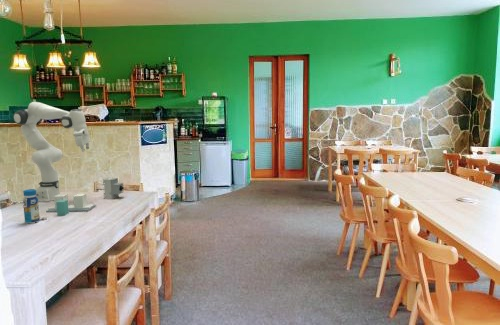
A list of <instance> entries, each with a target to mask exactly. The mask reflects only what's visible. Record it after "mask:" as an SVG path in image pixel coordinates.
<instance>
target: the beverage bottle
mask: <svg viewBox="0 0 500 325" xmlns="http://www.w3.org/2000/svg"><path fill="white" fill-rule="evenodd" d="M35 195H36V189H34V188H33V189H31V188H29V189H25V190H23V196H24V198H23V200H22V203H23V205H22V208H23V215H24V224H27V223H32V224H36V223H35V222H37V223H40V222H41V218H40V204H39V202H38V198H37V197H36V196H35Z"/></svg>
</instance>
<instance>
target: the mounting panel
mask: <svg viewBox="0 0 500 325" xmlns="http://www.w3.org/2000/svg"><path fill="white" fill-rule="evenodd" d="M68 197H69V196H68V193H65V194H64V193H60V194H59V195H56V196H54V200H53V201H54V205H52V206H50V207H47V210H46V211H45V212H46V213H57V206H56V202H57V201H59V200H68V201H69V198H68ZM96 206H97V205H96V204H88V198H87V193H77V194H75V195H73V204H70V205H69V204H68V210H69V213H76V212H79V213H82V212H83V213H85V212H89V211H91V210H93V209H94V208H96Z"/></svg>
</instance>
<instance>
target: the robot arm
mask: <svg viewBox="0 0 500 325" xmlns="http://www.w3.org/2000/svg"><path fill="white" fill-rule="evenodd" d="M57 119H60V123H61V125H62V127H64V128H65V129H73V133H72V136H73V137H74V141H75V144H76V146H77V147H80V149H81V152H85V151H86V150H89V149H90V144H89V143H90V142H91V141H92V140H91V137H90V133H89V129H88V126H87V121H86V120H87V119H86V116H85V113H84V111H83V110H82V109H79V108H74V109H71V110H70V111H69V110H64V109H61V108H58V107H54V106H51V105H48V104H45V103H43V102H39V101H31V102H30V103H29V104H28V106H27V109H23V108H22V109H19V110H17V111H16V112H14V113H13V121H14V122H15V124H17V125H19V126H20V125H21V126H20V131H21V134H22V135H23V137H24V139H25V140H26V142H27V143H28V144H29V146H30V147H31V148H32V149H33V150H36V151H33V153H32V154H31V160H32V162H33V163H34V164H35V165H37V167H38V168H39V171H40V176H41V181H40V182H39V183H38V185H39V187H38V188H36V189H35V190H36V195H35V196H36V197H37V198H38V203H39V202H41V203H43V202H45V203H46V202H51V201H54V196H56V195H59V194H61V192H60V182H59V180H58V170H57V169H56V168H54V166H53V164H54V163H57V162H59V161H61V160H62V158H63V151H62V150H61V149H60V148H58V147H55V146H54V145H53V144H51V143H50V142H49V141H47V139H45V137H44V136H43V135H42V132H40V130H39V129H38V128H37V125H38V126H39V125H40V124H41V122H42V121H43V120H45V121H46V120H57ZM84 145H85V146H84Z"/></svg>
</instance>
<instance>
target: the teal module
mask: <svg viewBox="0 0 500 325" xmlns="http://www.w3.org/2000/svg"><path fill="white" fill-rule="evenodd" d="M68 205H69V199H68V200H59V201H57V202H56V206H57V212H56V215H57V216H59V217H60V216H67V215H69V213H70V212H69V210H68Z"/></svg>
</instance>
